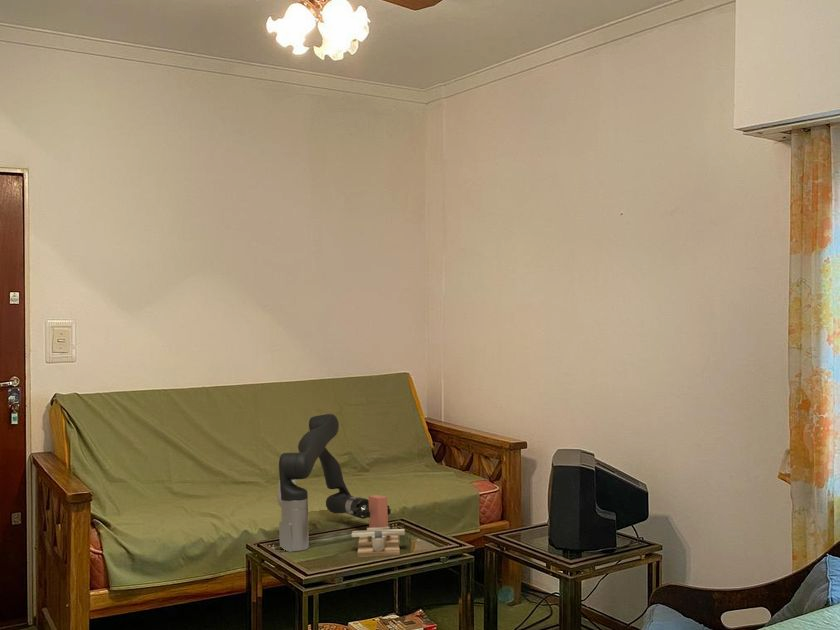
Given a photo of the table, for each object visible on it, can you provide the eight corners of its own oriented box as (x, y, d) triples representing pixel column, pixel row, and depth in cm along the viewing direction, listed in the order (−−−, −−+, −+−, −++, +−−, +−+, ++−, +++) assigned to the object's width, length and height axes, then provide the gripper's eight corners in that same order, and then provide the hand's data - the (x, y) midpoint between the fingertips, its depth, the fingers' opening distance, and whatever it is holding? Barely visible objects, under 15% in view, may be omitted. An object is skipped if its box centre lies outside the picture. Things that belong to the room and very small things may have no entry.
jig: (405, 555, 282) (405, 534, 282) (351, 557, 281) (350, 536, 281) (403, 536, 310) (403, 517, 310) (354, 538, 309) (353, 519, 309)
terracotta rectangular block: (388, 535, 313) (387, 497, 313) (378, 537, 310) (377, 498, 311) (378, 532, 318) (377, 494, 319) (369, 533, 316) (368, 496, 317)
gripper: (341, 499, 324) (362, 505, 310) (374, 495, 331) (395, 500, 318) (342, 519, 323) (363, 526, 310) (374, 514, 331) (396, 520, 318)
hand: (379, 513), depth 314 cm, fingers open, 8 cm apart
